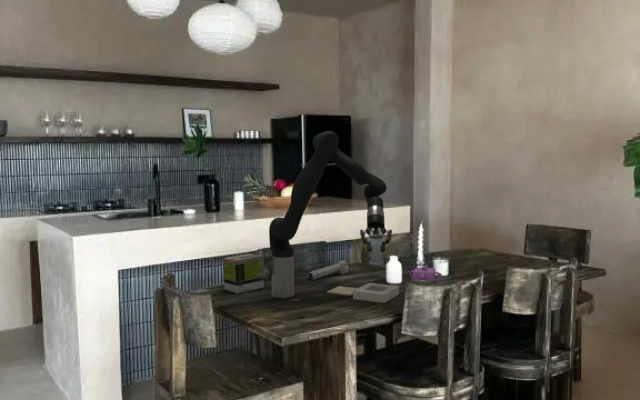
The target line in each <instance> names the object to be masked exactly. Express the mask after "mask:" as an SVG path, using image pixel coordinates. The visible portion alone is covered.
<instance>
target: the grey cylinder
mask: <svg viewBox="0 0 640 400" xmlns="http://www.w3.org/2000/svg"><path fill="white" fill-rule="evenodd" d="M349 269H350V267H349V265H348V264H347V261H346V260H340V261H339V262H338V263H336V264H332V265H328V266H325V267H323V268H319V269H315V270H314V269H313V270H312V271H310V272H308V273H307V275H306V276H307V280H309V281H315V280H318V279H320V278H323V277H325V276H326V275H330V274H332V273H334V272H338V273H337V274H340V275H344V274H346V273H347V274H348V273H349V272H350V271H349Z"/></svg>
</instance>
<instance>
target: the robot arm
mask: <svg viewBox="0 0 640 400" xmlns="http://www.w3.org/2000/svg"><path fill="white" fill-rule="evenodd" d="M312 145H313V148H314V153H313V154H312V156H311V158H310V159H309V160H308V162H307V163H306V164H305V165H304V166H303V168H302V169H301V170H300V172H299V173H298V175H297V177H296V179H295V181H294V183H293V185H292V189H291V192H290V193H291V194H290V202H289V207H288V208H287V211H286V213H285V214H284V216H283V217H281V216H280V217H279V216H278V217H275V218H274V219H272V220H271V221H270V223H269V228H268V236H269V237H268V238H269V239H268V240H269V249H270V252H271V272H272V273H271V278H270V279H271V281H270V282H271V297H272V298H277V299H285V298H286V299H288V298H293V297H294V296H295V269H294V268H295V265H294V263H295V260H294V259H295V258H294V257H295V256H294V255H295V253H294V251H295V250H294V248H293V246H292V245H291V242H290V241H291V240H292V239H293V238H294V237H295V235H296V234H297V232H298V229H299V226H300V224H301V221H302V218H303V215H304V214H305V211H306V209H307V207H308V205H309V203H310V200H311V199H312V196H313V195H314V194H315V191H316V189H317V187H318V185H319V182H320V180H321V178H322V175H323V174H324V171H325V169H326V167H327V165H328V163H329V162H330V161H331V163H334V164H335V165H336V166H337V167H338V168H340V170H341V171H343V172H344V173H345V174H346V175H347V176H349V177H350V179H352V180H353V181H354V183H356V184H357V185H359V186H362V185H366V184H367V185H366V186H365V187H364V189H363V195H364V198H365V200H366V207H367V211H366V228H365V229H364V230H363V229H360V230H359V235H360V238H361V242H362V243H363V245H367V246H366V247H367V248H366V251H368V252H369V253H370V252H371V243H370V235H371V234H381V235H383V238H382V253H384V252H385V251H386V245H389V244H390V242H391V238H392V235H393V234H392V233H393V230H392V229H389V230H388V229H386V228H385V223H386V221H385V212H384V200H383V198H381V197H380V196H382V195H384V194H385V193H386V191H387V189H388V188H387V184H386V182H385V181H384V180H383V179H381V178H380V177H378V176H376V175H374V174H372V173H370V172H368V171H367V170H366V169H365V168H364V167H363V166H362V165H361V164H360V163H359V162H357V160H355V159H354V158H351V157H350V156H349V155H347V154H345V153H344V152H343V151H341V149H339V148H338V146H339V137H338V135H337V133H335V132H334V131H331V130H327V131H323V132H321V133H320V132H319V133H318V134H316V135H315V136H314V137H313V140H312ZM366 234H367V235H368V237H367V239H366ZM385 234H386V236H387V237H386V239H385Z"/></svg>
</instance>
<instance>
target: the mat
mask: <svg viewBox="0 0 640 400" xmlns="http://www.w3.org/2000/svg"><path fill="white" fill-rule="evenodd" d="M358 288H359V287H349V286H343V285H342V286H341V285H338V286H336V287H334V288H331V289H329V290H327V291H326V292H327V294H332V295H333V294H334V295H342V296H349V297H350V296H353V291H354V290H356V289H358Z"/></svg>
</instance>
